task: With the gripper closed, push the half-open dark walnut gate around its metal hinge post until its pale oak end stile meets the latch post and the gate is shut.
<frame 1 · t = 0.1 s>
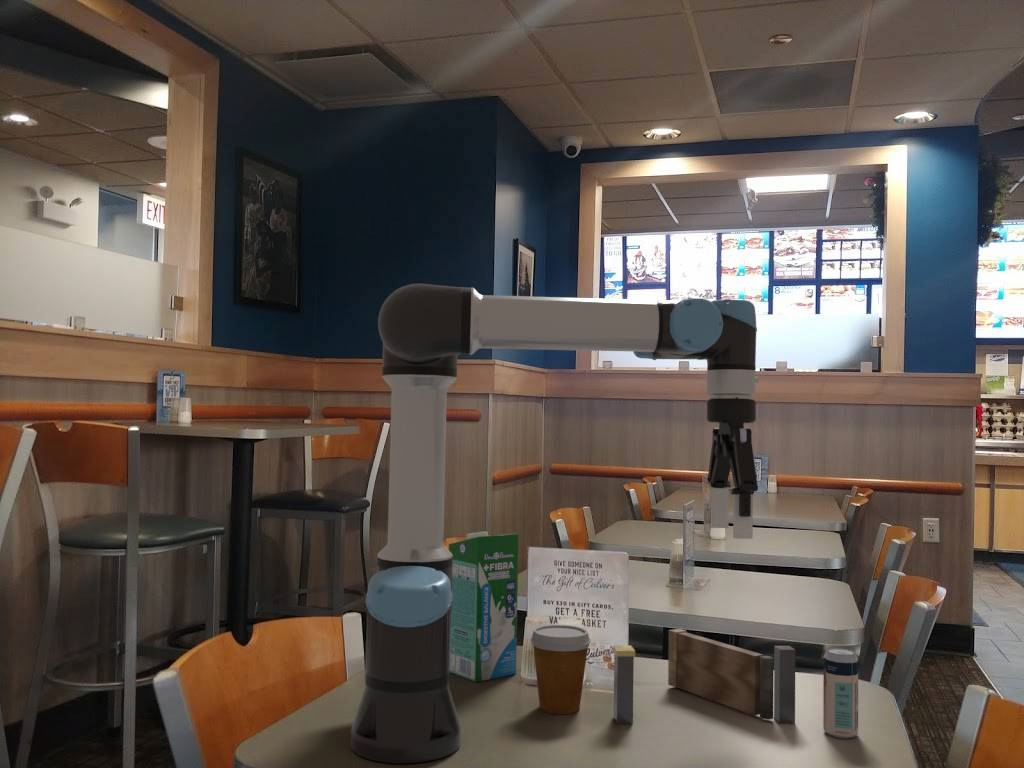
hand: (730, 533, 142), 28 cm above the table, tool pointing down, fingers open, 13 cm apart
supplement bottle: (840, 735, 132), on the table
latch post: (623, 720, 136), on the table
hinge post: (784, 720, 137), on the table
disposable coffee cup: (559, 709, 142), on the table
milk carton: (481, 673, 161), on the table
garden gate: (719, 671, 146), point 5 cm above the table, hinge at -60.0°
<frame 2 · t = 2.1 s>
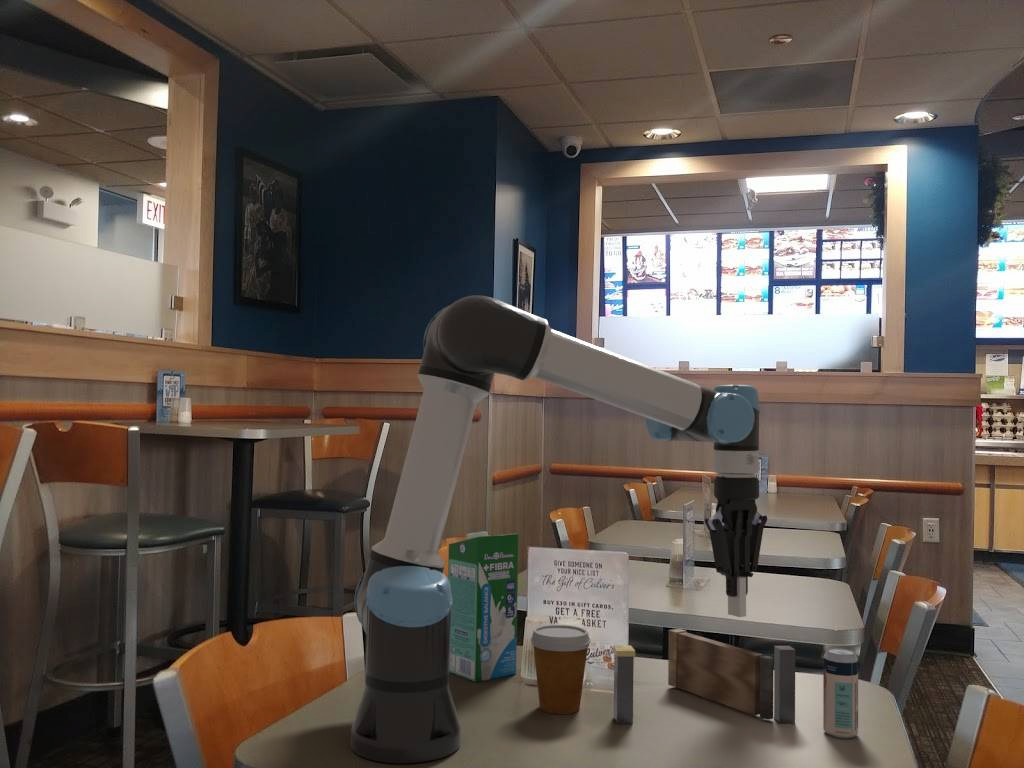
hand: (737, 615, 153), 13 cm above the table, tool pointing down, fingers closed
nothing on the table moved.
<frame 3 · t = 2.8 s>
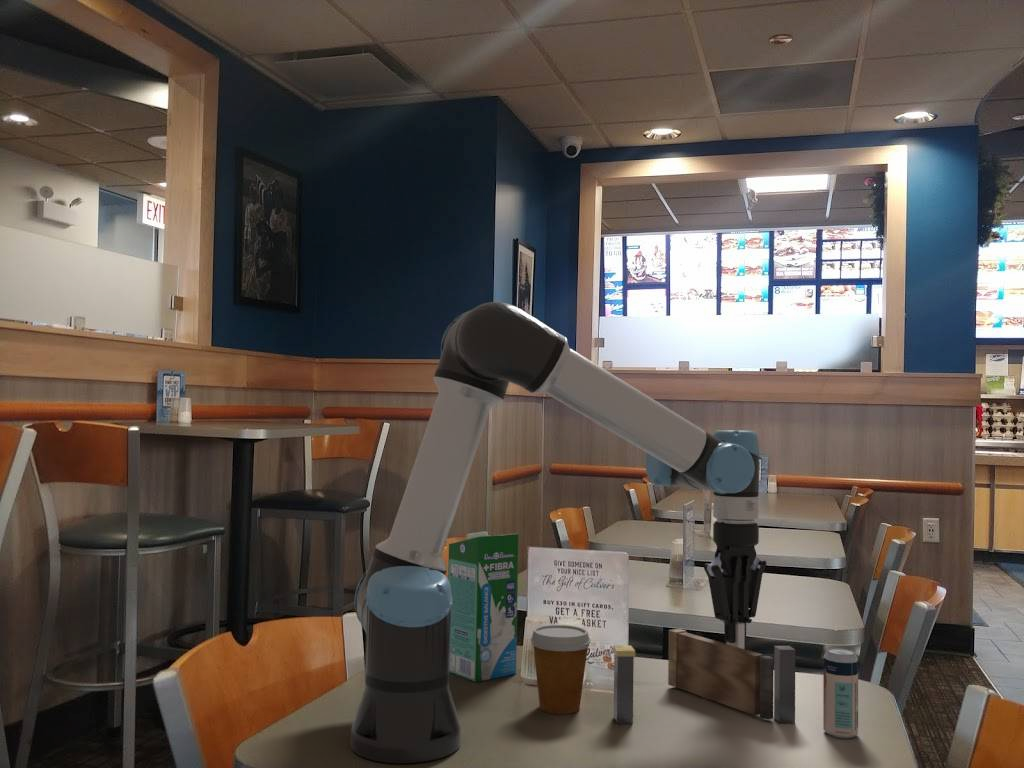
hand: (735, 661, 152), 5 cm above the table, tool pointing down, fingers closed
nothing on the table moved.
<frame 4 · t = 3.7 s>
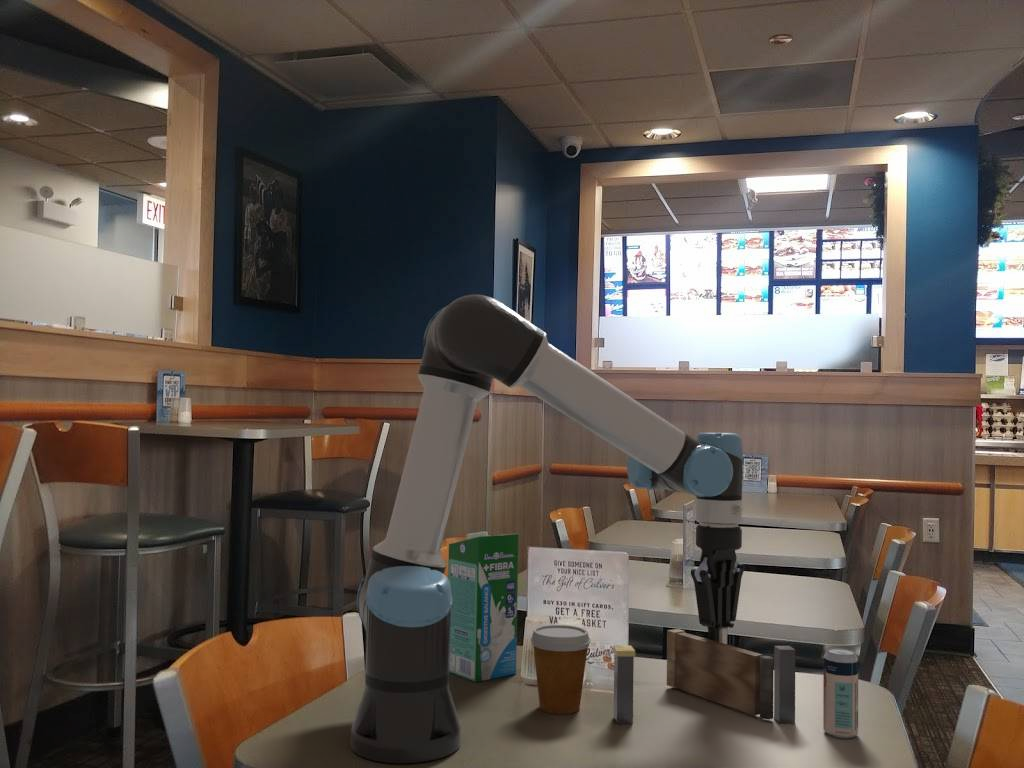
hand: (717, 666, 150), 5 cm above the table, tool pointing down, fingers closed
garden gate: (718, 671, 146), point 5 cm above the table, hinge at -58.9°, touching gripper
everything else where it was.
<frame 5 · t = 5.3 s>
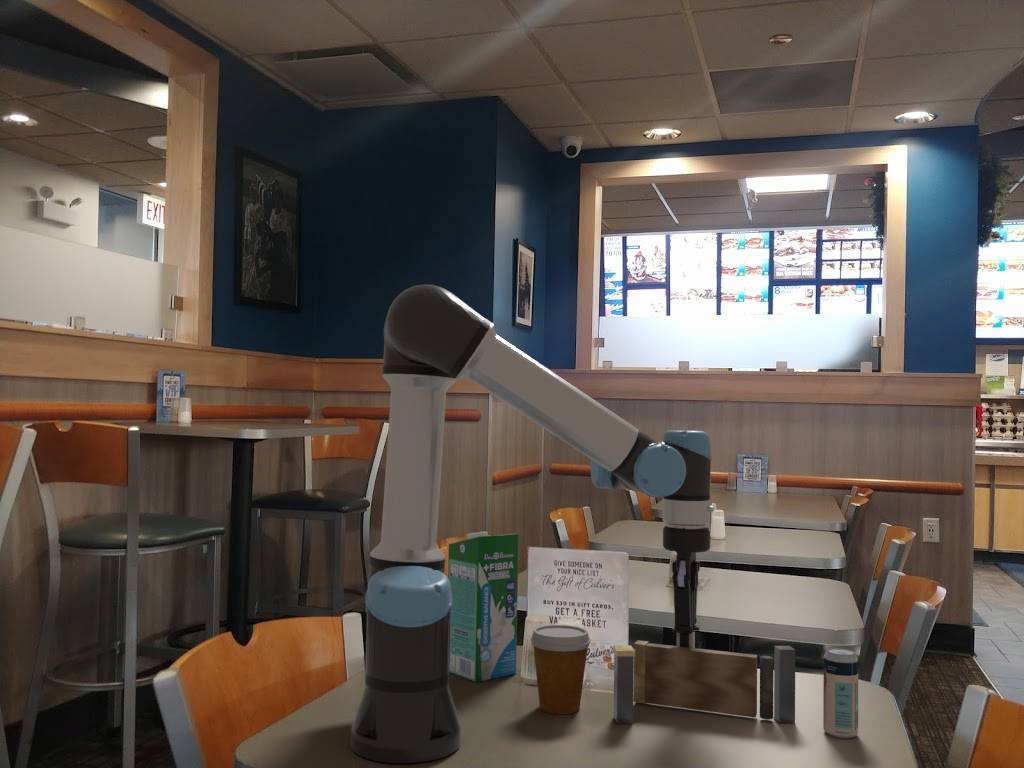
hand: (685, 672, 145), 5 cm above the table, tool pointing down, fingers closed
garden gate: (702, 678, 141), point 5 cm above the table, hinge at -24.8°, touching gripper
everything else where it was.
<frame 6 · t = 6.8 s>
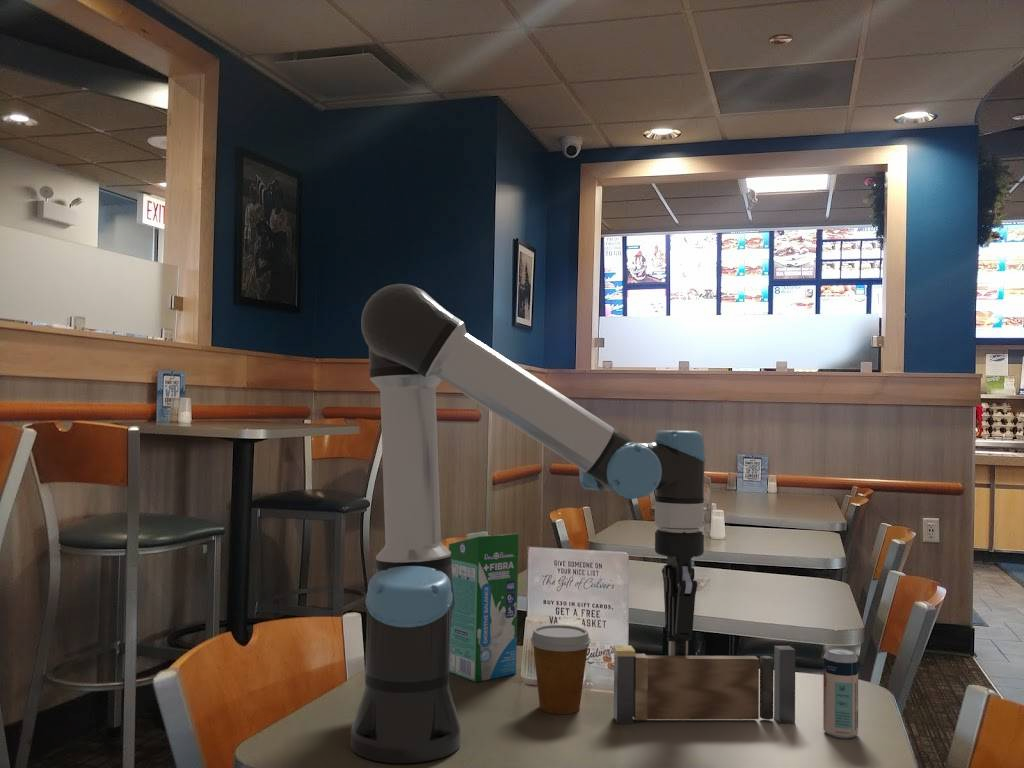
hand: (677, 681, 140), 5 cm above the table, tool pointing down, fingers closed
garden gate: (703, 686, 137), point 5 cm above the table, hinge at 0.2°, touching gripper
everything else where it was.
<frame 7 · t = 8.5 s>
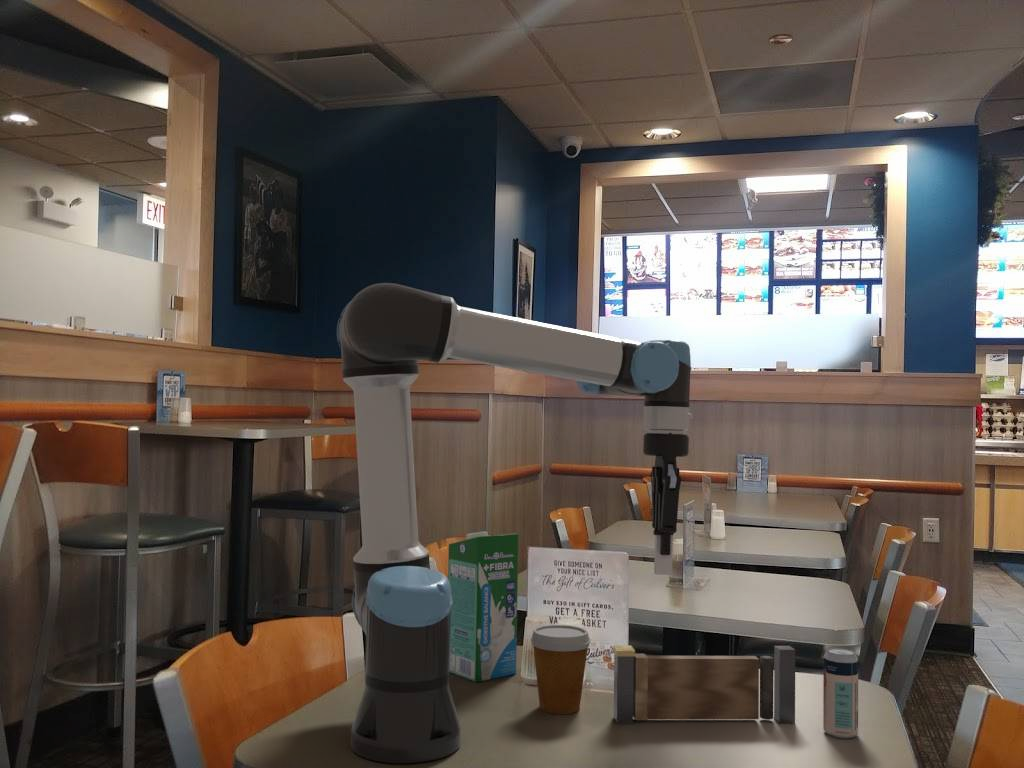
hand: (663, 573, 150), 20 cm above the table, tool pointing down, fingers closed
garden gate: (703, 686, 137), point 5 cm above the table, hinge at 0.2°
everything else where it was.
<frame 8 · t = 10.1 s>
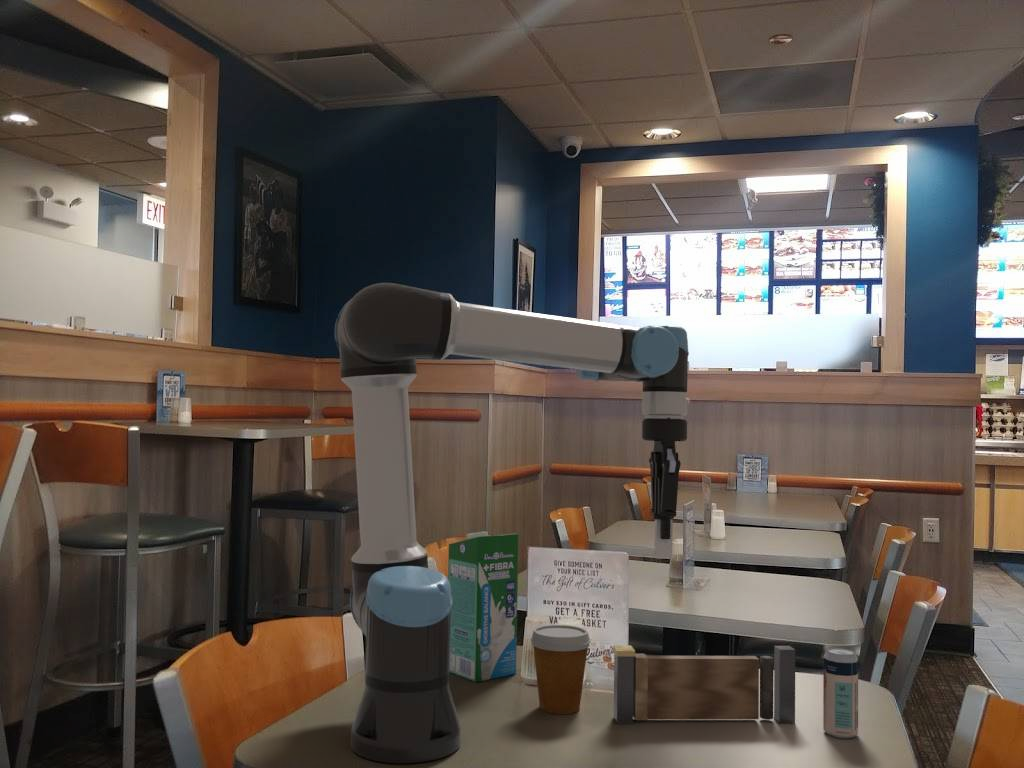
hand: (663, 557, 152), 22 cm above the table, tool pointing down, fingers closed
nothing on the table moved.
at the end: garden gate at +0° (first picture: -60°) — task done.
